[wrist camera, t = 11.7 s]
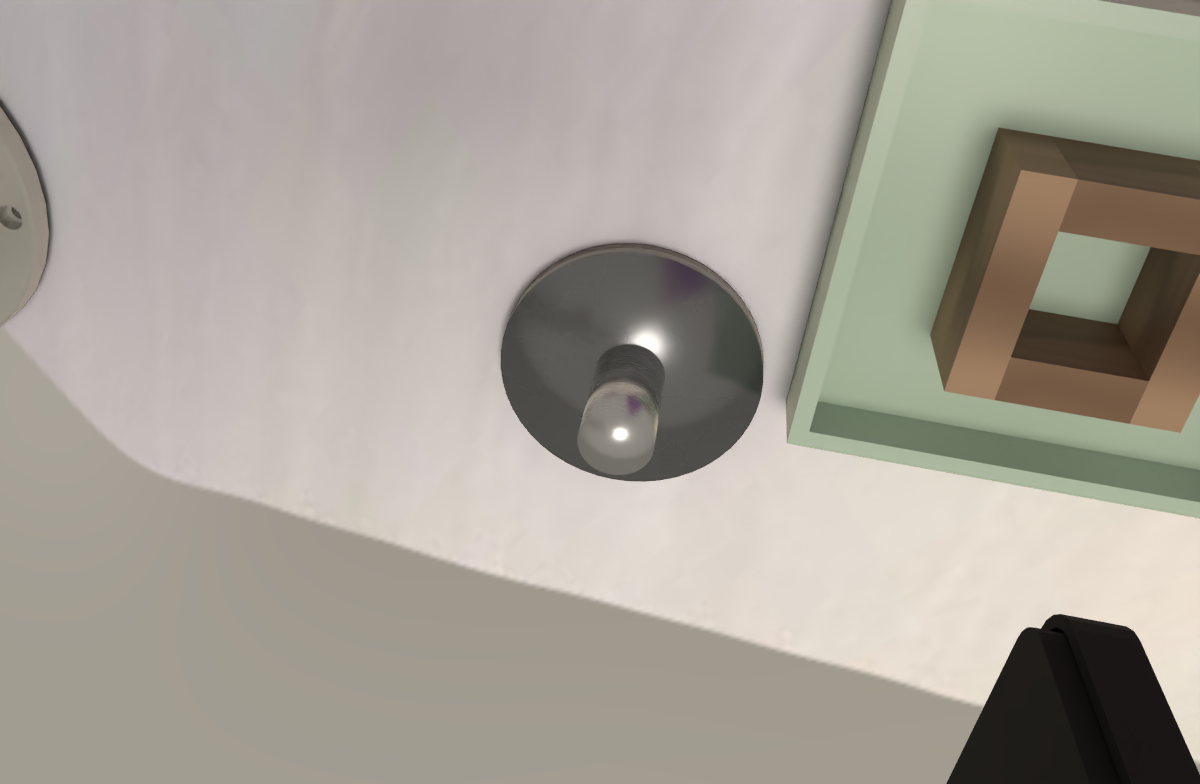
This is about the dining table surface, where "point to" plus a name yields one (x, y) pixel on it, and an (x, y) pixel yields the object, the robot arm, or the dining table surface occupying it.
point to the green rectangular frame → (938, 219)
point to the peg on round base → (633, 362)
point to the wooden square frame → (1064, 343)
